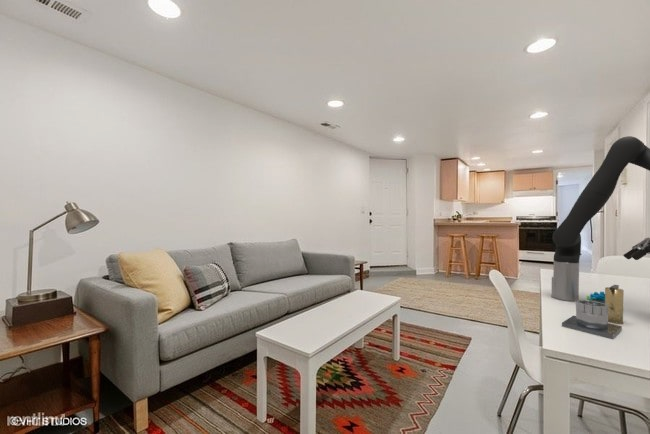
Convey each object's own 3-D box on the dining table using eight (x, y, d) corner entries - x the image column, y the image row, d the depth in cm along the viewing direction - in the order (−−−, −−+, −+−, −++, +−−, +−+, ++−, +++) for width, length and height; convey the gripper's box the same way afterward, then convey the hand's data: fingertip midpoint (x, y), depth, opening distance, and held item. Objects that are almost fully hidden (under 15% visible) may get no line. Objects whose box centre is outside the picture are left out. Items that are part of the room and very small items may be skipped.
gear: (626, 306, 121) (618, 291, 118) (625, 318, 119) (617, 303, 115) (591, 303, 131) (583, 289, 127) (589, 314, 128) (581, 300, 125)
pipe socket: (561, 326, 104) (562, 301, 103) (573, 318, 111) (573, 296, 111) (612, 339, 93) (613, 312, 93) (621, 329, 101) (622, 304, 101)
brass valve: (602, 321, 108) (603, 286, 108) (607, 317, 112) (607, 283, 112) (620, 325, 104) (621, 288, 104) (624, 321, 109) (625, 286, 108)
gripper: (654, 223, 114) (614, 250, 120) (672, 220, 102) (626, 250, 108) (675, 237, 111) (632, 264, 117) (695, 236, 99) (646, 266, 105)
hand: (629, 257), depth 112 cm, fingers open, 8 cm apart
